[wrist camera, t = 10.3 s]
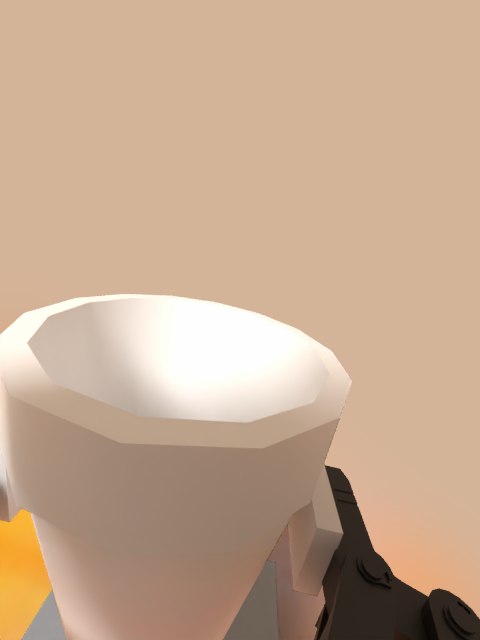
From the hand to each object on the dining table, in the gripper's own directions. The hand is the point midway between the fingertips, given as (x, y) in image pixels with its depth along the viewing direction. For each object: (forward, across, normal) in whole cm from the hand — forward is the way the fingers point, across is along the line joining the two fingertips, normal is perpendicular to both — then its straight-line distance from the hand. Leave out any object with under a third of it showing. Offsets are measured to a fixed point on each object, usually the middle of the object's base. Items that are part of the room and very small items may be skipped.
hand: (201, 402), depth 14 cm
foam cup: (-5, 0, -8) cm, 9 cm away
